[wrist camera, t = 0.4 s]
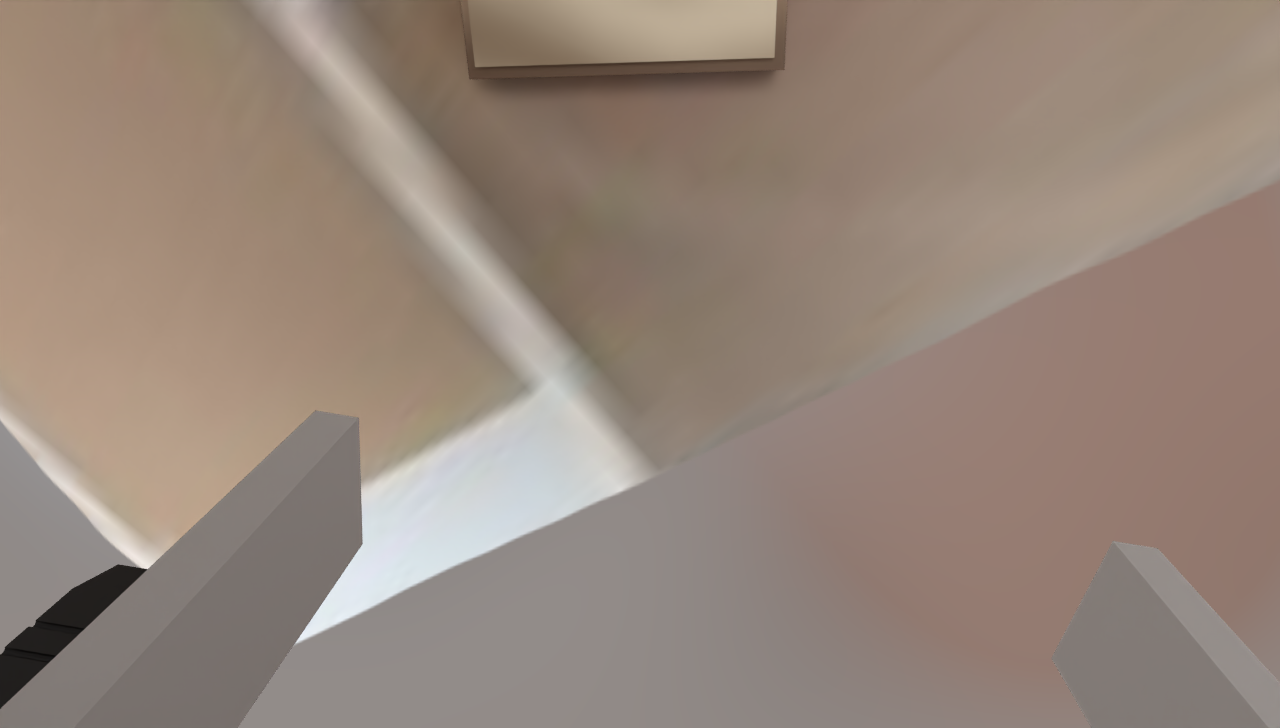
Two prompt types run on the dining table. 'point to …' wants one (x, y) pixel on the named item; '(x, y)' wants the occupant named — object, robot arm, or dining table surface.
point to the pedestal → (621, 37)
